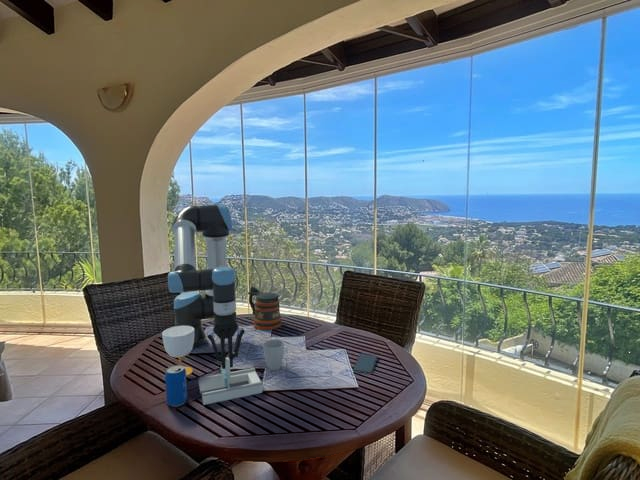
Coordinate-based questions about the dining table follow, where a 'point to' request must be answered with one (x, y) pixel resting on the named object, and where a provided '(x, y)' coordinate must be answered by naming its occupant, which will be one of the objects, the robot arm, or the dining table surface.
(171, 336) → the cup
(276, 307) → the beer stein
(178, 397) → the beverage can
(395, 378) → the dining table surface
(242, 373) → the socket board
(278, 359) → the cup
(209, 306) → the robot arm
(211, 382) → the shutter
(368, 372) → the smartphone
